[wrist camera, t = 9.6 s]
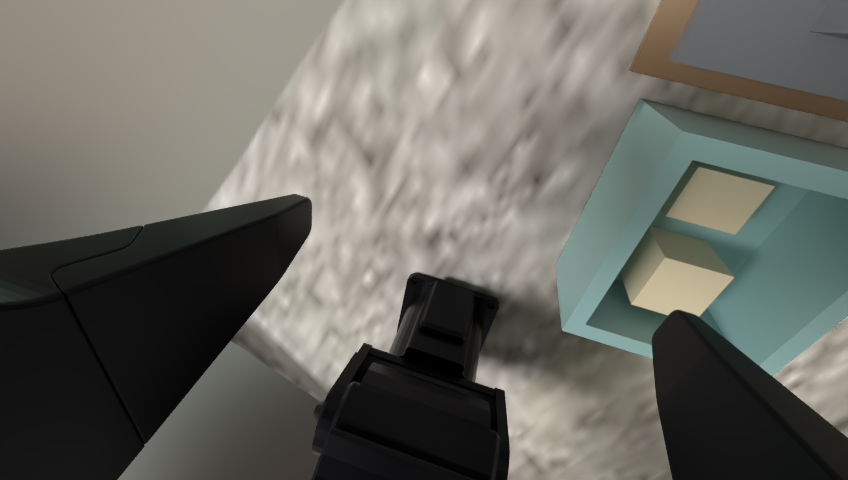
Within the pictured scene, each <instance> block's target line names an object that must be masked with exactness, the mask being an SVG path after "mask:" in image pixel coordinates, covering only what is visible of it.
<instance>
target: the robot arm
mask: <svg viewBox="0 0 848 480" xmlns="http://www.w3.org/2000/svg"><path fill="white" fill-rule="evenodd" d="M311 226H312V203H311V200H310V199H309V198H307V197H304V196H300V195H297V194H292V195H287V196H282V197H278V198H273V199H268V200H263V201H258V202H253V203H248V204H243V205H239V206H234V207H229V208H224V209H219V210H214V211H209V212H204V213H200V214H195V215H190V216H185V217H180V218H175V219H171V220H165V221H161V222H156V223H151V224H146V225H145V226H144V227H143V226H136V227H131V228H126V229H122V230H116V231H111V232H105V233H101V234H95V235H90V236H84V237H78V238H72V239H66V240H60V241H54V242H48V243H41V244H35V245H29V246H23V247H17V248H10V249H3V250H0V480H117V479H118V478H119V477H120V476H121V475H122V473H123V472H124V471H125V469H126V468H127V467H128V466H129V465H130V464H131V462H132V461H133V460H134V459H135V457H136V456H137V455H138V454H139V452H140V451H141V450H142V449H143V448H144V444H146V443H147V442H148V441H149V440H150V439H151V437H152V436H153V435H154V434H155V432H156V431H157V430H158V429H159V427H160V426H161V425H162V424H163V423H164V421H165V420H166V419H167V418H168V416H169V415H170V414H171V413H172V411H173V410H174V409H175V408H176V407H177V405H178V404H179V403H180V402H181V401H182V399H183V398H184V397H185V396H186V394H187V393H188V392H189V391H190V389H191V388H192V387H193V386H194V385H195V383H196V382H197V381H198V380H199V378H200V377H201V376H202V375H203V373H204V372H205V371H206V370H207V369H208V367H209V366H210V365H211V364H212V363H213V361H214V360H215V359H216V358H217V356H218V355H219V354H220V353H221V352H222V350H223V349H224V348H225V347H226V345H227V344H228V343H229V342H230V341H231V339H232V338H233V337H234V336H235V334H236V333H237V332H238V331H239V329H240V328H241V327H242V326H243V325H244V323H245V322H246V321H247V320H248V318H249V317H250V316H251V315H252V314H253V312H254V311H255V310H256V309H257V307H258V306H259V305H260V304H261V303H262V301H263V300H264V299H265V298H266V296H267V295H268V294H269V293H270V291H271V290H272V289H273V288H274V287H275V285H276V284H277V283H278V281H279V280H280V279H281V277H282V276H283V275H284V273H285V272H286V270H287V268H288V267H289V265H290V264H291V262H292V261H293V259H294V257H295V256H296V254H297V253H298V251H299V250H300V248H301V246H302V245H303V243H304V242H305V240H306V239H307V237H308V235H309V233H310V231H311ZM413 280H416V281H417V282H414V281H413ZM489 304H493V306H492V305H489ZM498 308H499V301H498V300H497V299H496V298H494V297H490V296H487V295H484V294H481V293H477V292H474V291H471V290H468V289H464V288H461V287H458V286H455V285H451V284H448V283H445V282H442V281H438V280H435V279H432V278H429V277H426V276H422V275H419V274H415V273H414V274H411V275H410V276H409V278H408V280H407V285H406V290H405V295H404V300H403V304H402V309H401V314H400V319H399V324H398V329H397V334H396V336H395V339H394V341H393V344H392V346H391V349H390V351H389V353H387V352H384V351H381V350H378V349H375V348H372V345H369V344H366V343H364V344H363V345H362V347H361V348H360V350H359V351H358V353H357V352H356V353H355V354H354V355H353V357H352V358H351V360H350V361H349V363H348V364H347V366H346V367H345V369H344V370H343V372H342V373H341V375H340V376H339V378H338V379H337V381H336V382H335V384H334V385H333V387H332V388H331V390H330V391H329V392H328V393H327V394H326V395H325V396H324V397H323V398H322V400H321V401H320V402H319V403H318V404H317V406H316V408H315V410H314V418H315V421H316V424H317V426H316V431H315V436H314V441H313V444H312V454H315V455H318V456H320V457H319V460H318V463H317V466H316V469H315V471H314V474H313V477H312V480H507V476H508V468H509V454H510V450H509V436H508V425H507V414H506V403H505V392H504V390H501V389H498V388H494V389H493V388H490V387H487V386H484V385H481V384H478V383H475V380H476V373H477V366H478V359H479V353H480V351H481V348H482V346H483V344H484V341H485V339H486V337H487V334H488V332H489V330H490V327H491V325H492V323H493V320H494V318H495V316H496V313H497V311H498ZM652 354H653V366H654V377H655V389H656V398H657V405H658V410H659V416H660V421H661V425H662V430H663V435H664V440H665V445H666V450H667V455H668V459H669V464H670V469H671V474H672V479H673V480H848V438H847V437H846V436H845V435H844V434H842V433H841V432H840V431H839V430H837V429H836V428H835V427H834V426H833V425H831V424H830V423H829V422H828V421H826V420H825V419H824V418H823V417H821V416H820V415H819V414H818V413H817V412H815V411H814V410H813V409H812V408H810V407H809V406H808V405H807V404H805V403H804V402H803V401H802V400H801V399H799V398H798V397H797V396H796V395H794V394H793V393H792V392H791V391H789V390H788V389H787V388H786V387H785V386H783V385H782V384H781V383H780V382H778V381H777V380H776V379H775V378H773V377H772V376H771V375H770V374H769V373H767V372H766V371H765V370H764V369H762V368H761V367H760V366H759V365H757V364H756V363H755V362H754V361H753V360H751V359H750V358H749V357H748V356H746V355H745V354H744V353H743V352H741V351H740V350H739V349H738V348H736V347H735V346H734V345H733V344H732V343H730V342H729V341H728V340H727V339H725V338H724V337H723V336H722V335H720V334H719V333H718V332H717V331H716V330H714V329H713V328H712V327H711V326H709V325H708V324H707V323H706V322H704V321H703V320H702V319H701V318H700V317H698V316H697V315H695V314H692V313H689V312H685V311H682V310H674V311H672V312H671V313H670V314H669V315H668V316H667V317H666V319H665V320H664V321H663V322H662V323H661V325H660V326H659V327H658V328H657V329H656V331H655V332H654V334H653V336H652Z"/></svg>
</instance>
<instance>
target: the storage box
mask: <svg viewBox="0 0 848 480" xmlns="http://www.w3.org/2000/svg"><path fill="white" fill-rule="evenodd" d="M555 270H556V279H557V289H558V298H559V308H560V318H561V327H562V331H565V332H568V333H571V334H574V335H578V336H581V337H584V338H587V339H590V340H594V341H597V342H600V343H603V344H606V345H610V346H613V347H616V348H619V349H623V350H626V351H629V352H632V353H635V354H639V355H642V356H645V357H648V358H651V359H653V354H652V336H653V334H654V332H655V331H656V329H657V328H658V327H659V326H660V325H661V323H662V322H663V321H664V320H665V319H666V317H667V316H668V315H669V314H670V313H671V312H672V311H674V310H682V311H685V312H689V313H692V314H695V315H697V316H698V317H700V318H701V319H702V320H703V321H704V322H706V323H707V324H708V325H709V326H711V327H712V328H713V329H714V330H716V331H717V332H718V333H719V334H720V335H722V336H723V337H724V338H725V339H727V340H728V341H729V342H730V343H732V344H733V345H734V346H735V347H736V348H738V349H739V350H740V351H741V352H743V353H744V354H745V355H746V356H748V357H749V358H750V359H751V360H753V361H754V362H755V363H756V364H757V365H759V366H760V367H761V368H762V369H764V370H765V371H766V372H767V373H769V374H770V375H771V376H773V375H774V374H775V373H777V372H778V371H779V370H780V369H782V368H783V367H784V366H785V365H787V364H788V363H789V362H790V361H792V360H793V359H794V358H795V357H797V356H798V355H799V354H800V353H802V352H803V351H804V350H805V349H807V348H808V347H809V346H810V345H812V344H813V343H814V342H815V341H817V340H818V339H819V338H820V337H822V336H823V335H824V334H825V333H827V332H828V331H829V330H830V329H832V328H833V327H834V326H835V325H837V324H838V323H839V322H840V321H842V320H843V319H844V318H845V317H847V316H848V149H847V148H843V147H839V146H835V145H831V144H827V143H822V142H818V141H814V140H810V139H806V138H802V137H797V136H793V135H789V134H785V133H781V132H776V131H772V130H768V129H764V128H760V127H756V126H751V125H747V124H743V123H739V122H735V121H731V120H726V119H722V118H718V117H714V116H710V115H706V114H701V113H697V112H693V111H689V110H685V109H681V108H676V107H672V106H668V105H664V104H660V103H656V102H651V101H647V100H643V99H640V100H639V102H638V104H637V106H636V107H635V109H634V111H633V113H632V115H631V117H630V119H629V121H628V123H627V125H626V127H625V129H624V131H623V133H622V135H621V137H620V139H619V141H618V143H617V145H616V147H615V149H614V151H613V153H612V155H611V157H610V159H609V161H608V163H607V164H606V166H605V168H604V170H603V172H602V174H601V176H600V178H599V180H598V182H597V184H596V186H595V188H594V190H593V192H592V194H591V196H590V198H589V200H588V202H587V204H586V206H585V208H584V210H583V212H582V214H581V216H580V218H579V220H578V221H577V223H576V225H575V227H574V229H573V231H572V233H571V235H570V237H569V239H568V241H567V243H566V245H565V247H564V249H563V251H562V253H561V255H560V257H559V259H558V261H557V263H556V265H555Z"/></svg>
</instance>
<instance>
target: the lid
mask: <svg viewBox="0 0 848 480" xmlns="http://www.w3.org/2000/svg"><path fill="white" fill-rule="evenodd" d="M668 60H670V61H673V62H676V63H681V64H685V65H690V66H694V67H699V68H703V69H707V70H712V71H716V72H721V73H725V74H730V75H734V76H738V77H743V78H747V79H752V80H756V81H761V82H765V83H769V84H774V85H778V86H783V87H787V88H792V89H796V90H800V91H805V92H809V93H814V94H818V95H823V96H827V97H831V98H836V99H840V100H845V101H848V0H698V2H697V4H696V6H695V8H694V10H693V12H692V14H691V16H690V18H689V20H688V21H687V23H686V25H685V27H684V29H683V31H682V33H681V35H680V37H679V39H678V41H677V43H676V45H675V47H674V48H673V50H672V52H671V54H670V56H669V58H668Z"/></svg>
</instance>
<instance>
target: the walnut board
mask: <svg viewBox="0 0 848 480" xmlns="http://www.w3.org/2000/svg"><path fill="white" fill-rule="evenodd" d="M697 2H698V0H662V1H661V3H660V5H659V7H658V9H657V11H656V14H655V16H654V18H653V20H652V22H651V24H650V26H649V28H648V31H647V33H646V35H645V37H644V39H643V41H642V43H641V45H640V48H639V50H638V52H637V54H636V56H635V58H634V60H633V62H632V65H631V67H630V69H629V70H630V71H632V72H636V73H640V74H645V75H649V76H653V77H658V78H662V79H666V80H671V81H675V82H679V83H683V84H688V85H692V86H696V87H701V88H705V89H709V90H713V91H718V92H722V93H726V94H731V95H735V96H739V97H744V98H748V99H752V100H756V101H761V102H765V103H769V104H774V105H778V106H782V107H787V108H791V109H795V110H799V111H804V112H808V113H812V114H817V115H821V116H825V117H830V118H834V119H838V120H842V121H847V122H848V101H845V100H840V99H836V98H831V97H827V96H823V95H818V94H814V93H809V92H805V91H800V90H796V89H792V88H787V87H783V86H778V85H774V84H769V83H765V82H761V81H756V80H752V79H747V78H743V77H738V76H734V75H730V74H725V73H721V72H716V71H712V70H707V69H703V68H699V67H694V66H690V65H685V64H681V63H676V62H673V61H670V60H668V58H669V56H670V54H671V52H672V50H673V48H674V47H675V45H676V43H677V41H678V39H679V37H680V35H681V33H682V31H683V29H684V27H685V25H686V23H687V21H688V20H689V18H690V16H691V14H692V12H693V10H694V8H695V6H696V4H697Z"/></svg>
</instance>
